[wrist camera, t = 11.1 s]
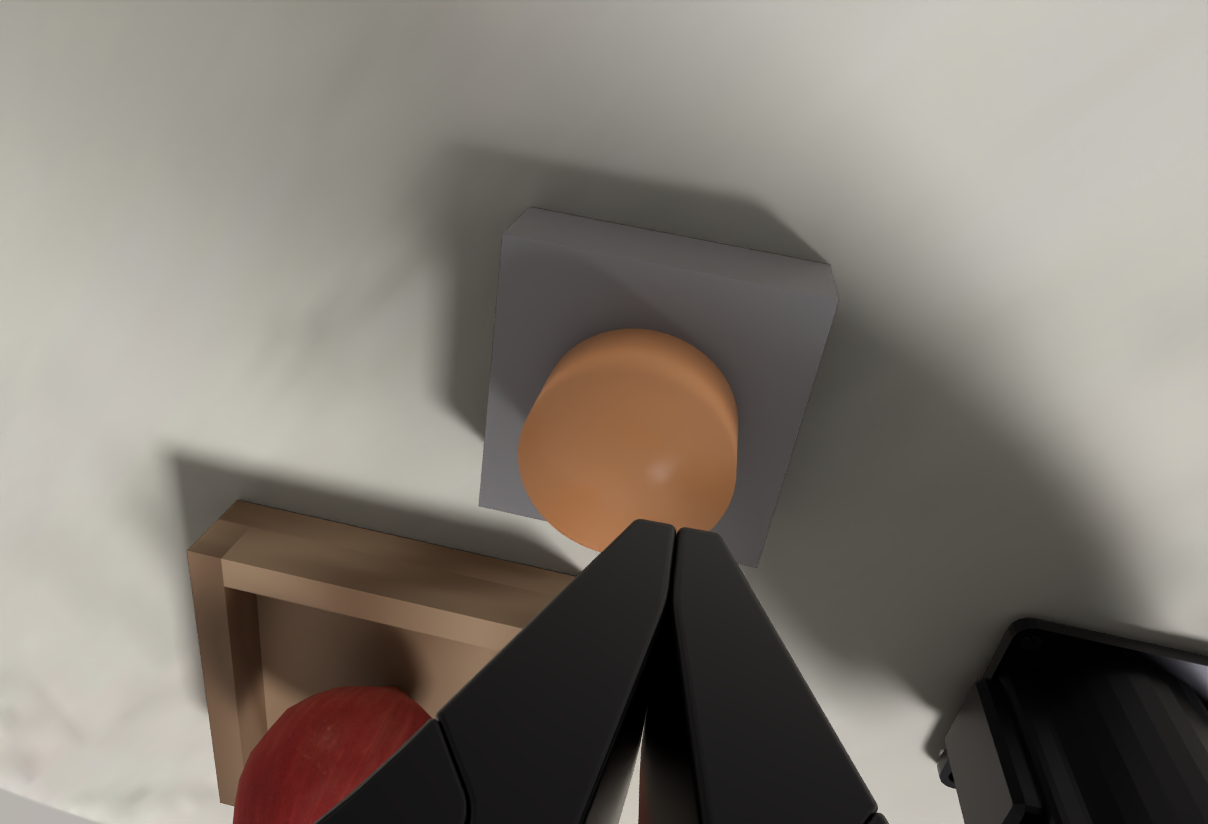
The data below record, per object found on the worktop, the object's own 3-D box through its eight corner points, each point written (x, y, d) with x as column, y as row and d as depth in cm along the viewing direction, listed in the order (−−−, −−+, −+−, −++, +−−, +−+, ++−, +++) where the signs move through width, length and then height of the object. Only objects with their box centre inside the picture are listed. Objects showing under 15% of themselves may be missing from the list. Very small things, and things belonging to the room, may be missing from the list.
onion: (505, 663, 24) (404, 935, 17) (469, 780, 27) (369, 1053, 20) (322, 601, 25) (150, 847, 18) (305, 724, 27) (150, 977, 20)
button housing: (830, 264, 18) (839, 299, 16) (757, 513, 22) (756, 567, 20) (529, 206, 19) (502, 233, 17) (503, 458, 22) (478, 506, 20)
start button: (759, 351, 17) (760, 394, 15) (714, 522, 19) (710, 577, 17) (552, 310, 17) (529, 347, 15) (531, 482, 19) (509, 531, 17)
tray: (592, 580, 24) (576, 641, 22) (550, 815, 29) (533, 882, 27) (237, 499, 25) (186, 550, 22) (259, 742, 30) (220, 802, 28)
